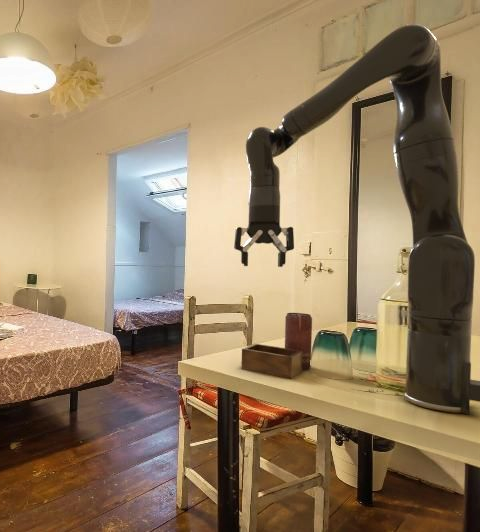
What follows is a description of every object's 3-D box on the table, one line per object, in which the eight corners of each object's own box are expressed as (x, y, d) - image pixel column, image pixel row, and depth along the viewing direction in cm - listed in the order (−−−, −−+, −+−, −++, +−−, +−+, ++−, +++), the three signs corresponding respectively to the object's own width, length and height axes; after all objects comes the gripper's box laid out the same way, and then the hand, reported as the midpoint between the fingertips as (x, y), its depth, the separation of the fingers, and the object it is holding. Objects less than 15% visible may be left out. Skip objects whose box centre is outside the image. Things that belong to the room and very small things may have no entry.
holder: (301, 370, 100) (302, 350, 100) (291, 378, 93) (291, 357, 93) (254, 362, 108) (255, 343, 108) (241, 368, 101) (241, 348, 100)
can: (288, 369, 101) (289, 314, 101) (281, 363, 107) (283, 311, 107) (314, 371, 100) (316, 316, 99) (306, 364, 106) (307, 312, 105)
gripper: (237, 203, 103) (236, 266, 103) (298, 202, 99) (296, 267, 99) (233, 207, 110) (232, 265, 110) (289, 206, 107) (288, 266, 107)
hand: (262, 266), depth 105 cm, fingers open, 8 cm apart
